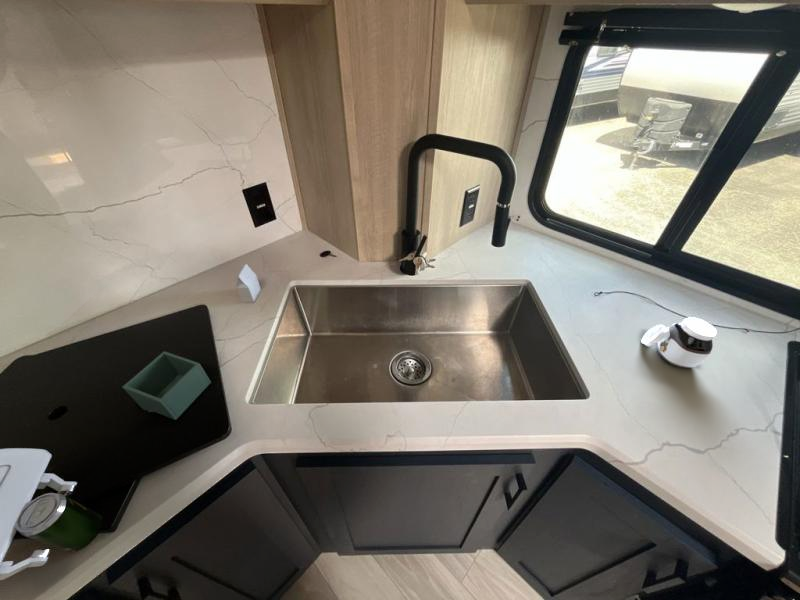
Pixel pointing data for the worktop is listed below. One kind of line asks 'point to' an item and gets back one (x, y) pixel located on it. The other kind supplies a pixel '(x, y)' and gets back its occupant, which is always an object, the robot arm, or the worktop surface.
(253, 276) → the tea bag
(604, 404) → the worktop surface
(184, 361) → the bin
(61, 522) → the beer can
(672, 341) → the spread jar
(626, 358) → the worktop surface
